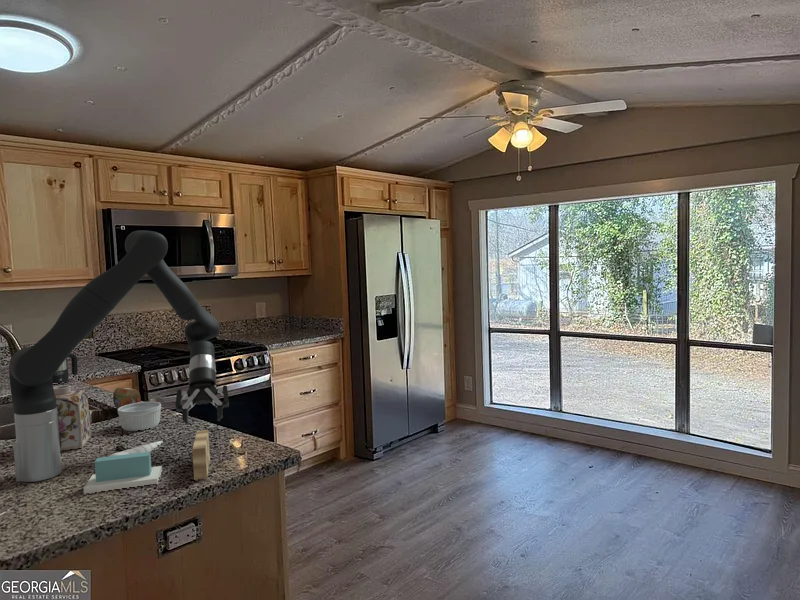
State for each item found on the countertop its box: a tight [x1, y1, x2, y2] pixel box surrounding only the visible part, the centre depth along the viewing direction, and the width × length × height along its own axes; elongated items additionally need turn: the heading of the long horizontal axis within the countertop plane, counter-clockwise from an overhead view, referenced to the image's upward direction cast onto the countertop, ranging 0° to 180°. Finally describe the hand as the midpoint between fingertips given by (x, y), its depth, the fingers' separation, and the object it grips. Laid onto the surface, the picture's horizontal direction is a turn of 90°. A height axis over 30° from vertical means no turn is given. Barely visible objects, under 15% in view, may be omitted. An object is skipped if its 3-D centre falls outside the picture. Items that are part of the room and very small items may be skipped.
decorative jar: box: [53, 384, 92, 452], centre depth 169 cm, size 12×12×18 cm
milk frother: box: [52, 352, 78, 383], centre depth 267 cm, size 14×16×15 cm
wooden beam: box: [191, 429, 211, 481], centre depth 146 cm, size 16×3×8 cm, turn 16°
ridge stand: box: [83, 451, 163, 495], centre depth 138 cm, size 16×9×6 cm, turn 106°
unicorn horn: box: [109, 440, 164, 456], centre depth 158 cm, size 5×24×5 cm, turn 170°
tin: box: [112, 386, 142, 410], centre depth 209 cm, size 15×3×8 cm, turn 55°
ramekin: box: [117, 401, 162, 432], centre depth 187 cm, size 13×13×7 cm
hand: (202, 421), depth 156 cm, fingers open, 8 cm apart
